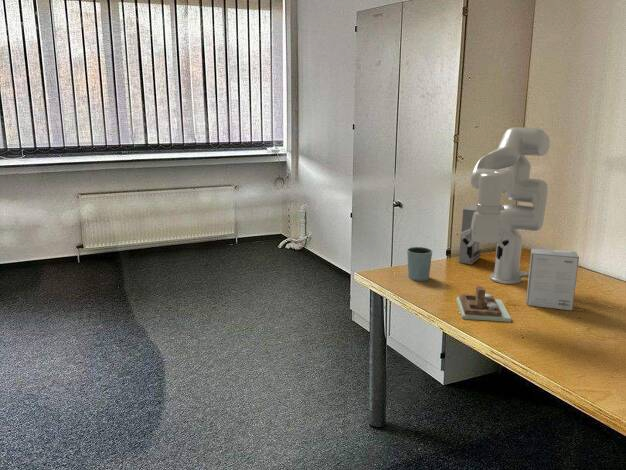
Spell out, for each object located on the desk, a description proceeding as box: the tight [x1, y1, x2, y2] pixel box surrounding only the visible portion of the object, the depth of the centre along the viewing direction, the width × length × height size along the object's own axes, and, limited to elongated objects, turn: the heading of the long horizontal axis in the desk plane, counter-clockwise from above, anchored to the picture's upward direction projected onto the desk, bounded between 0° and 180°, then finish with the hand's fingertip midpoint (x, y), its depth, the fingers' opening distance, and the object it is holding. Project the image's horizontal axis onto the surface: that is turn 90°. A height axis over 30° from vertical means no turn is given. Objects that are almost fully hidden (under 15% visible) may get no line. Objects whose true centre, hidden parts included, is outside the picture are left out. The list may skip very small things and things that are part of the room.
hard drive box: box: [525, 248, 580, 311], centre depth 199 cm, size 16×8×20 cm, turn 71°
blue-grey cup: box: [406, 246, 433, 282], centre depth 228 cm, size 10×10×12 cm
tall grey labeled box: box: [458, 204, 482, 265], centre depth 252 cm, size 14×6×25 cm, turn 147°
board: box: [456, 293, 512, 323], centre depth 194 cm, size 16×18×4 cm
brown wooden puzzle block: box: [458, 285, 502, 317], centre depth 194 cm, size 12×16×7 cm
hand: (483, 257), depth 191 cm, fingers open, 9 cm apart
